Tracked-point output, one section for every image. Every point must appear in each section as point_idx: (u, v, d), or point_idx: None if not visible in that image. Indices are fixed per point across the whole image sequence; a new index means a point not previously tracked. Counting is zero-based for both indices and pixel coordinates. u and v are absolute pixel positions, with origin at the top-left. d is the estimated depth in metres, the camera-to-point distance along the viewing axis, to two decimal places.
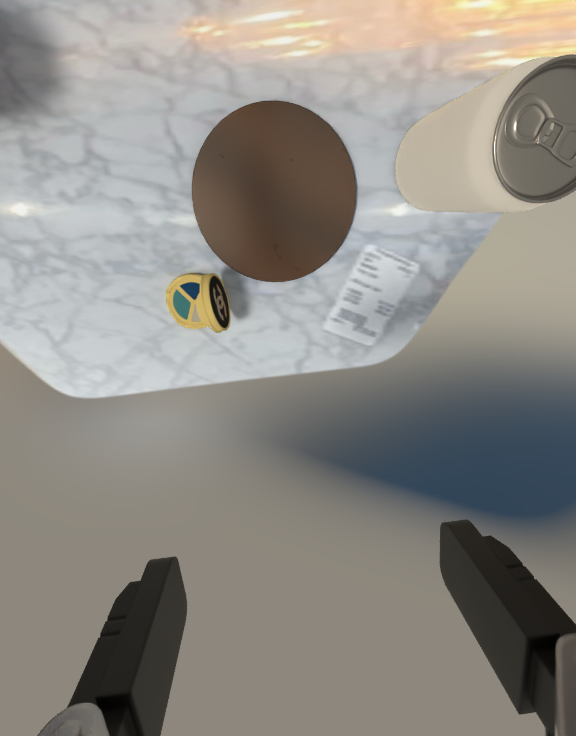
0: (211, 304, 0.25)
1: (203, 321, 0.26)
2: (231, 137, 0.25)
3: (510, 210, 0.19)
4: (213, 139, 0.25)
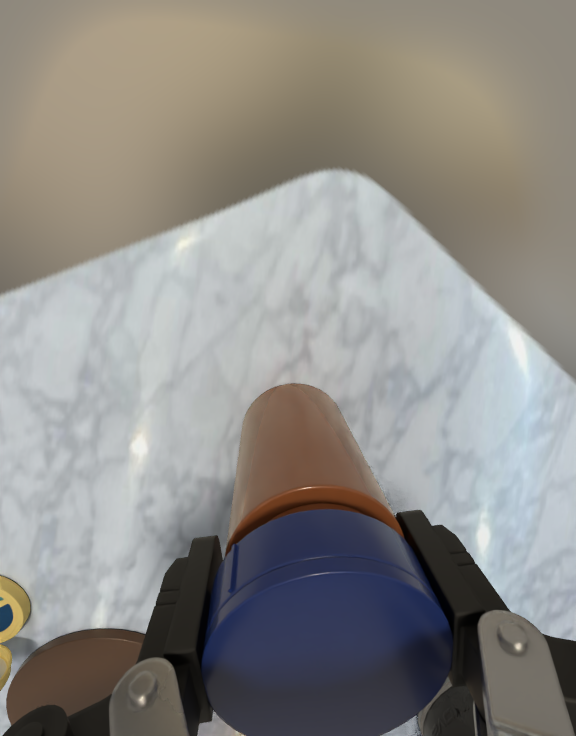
0: None
1: None
2: None
3: None
4: None
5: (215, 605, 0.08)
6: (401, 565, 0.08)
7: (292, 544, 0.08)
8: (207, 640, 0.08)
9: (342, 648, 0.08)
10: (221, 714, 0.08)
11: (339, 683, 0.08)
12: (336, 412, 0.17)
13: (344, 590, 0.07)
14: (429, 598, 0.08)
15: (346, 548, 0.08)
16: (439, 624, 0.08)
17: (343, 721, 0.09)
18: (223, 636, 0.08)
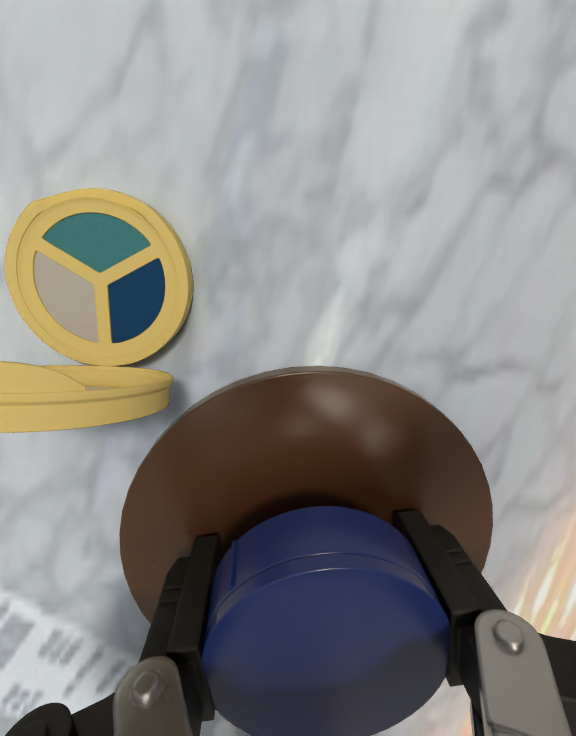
0: (21, 430, 0.06)
1: None
2: (453, 494, 0.11)
3: None
4: (465, 461, 0.11)
5: (215, 601, 0.08)
6: (401, 562, 0.08)
7: (292, 540, 0.08)
8: (207, 636, 0.08)
9: (342, 644, 0.08)
10: (221, 710, 0.08)
11: (339, 679, 0.08)
12: None
13: (344, 586, 0.07)
14: (429, 595, 0.08)
15: (346, 544, 0.08)
16: (439, 621, 0.08)
17: (343, 718, 0.09)
18: (223, 632, 0.08)
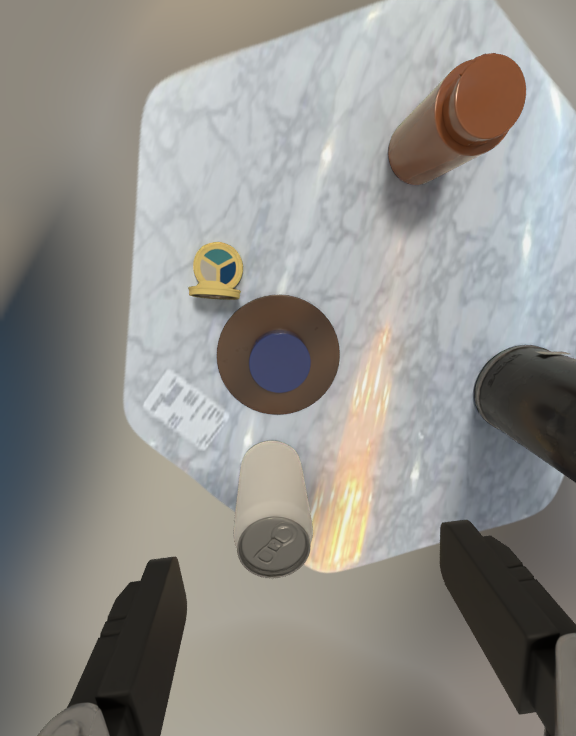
0: (216, 295, 0.29)
1: (203, 282, 0.29)
2: (325, 338, 0.35)
3: (236, 524, 0.29)
4: (327, 326, 0.35)
5: (252, 348, 0.34)
6: (296, 337, 0.34)
7: (270, 333, 0.34)
8: (250, 352, 0.33)
9: (282, 356, 0.34)
10: (253, 377, 0.34)
11: (282, 368, 0.34)
12: None
13: (282, 338, 0.33)
14: (302, 342, 0.33)
15: (283, 332, 0.34)
16: (305, 350, 0.33)
17: (284, 382, 0.34)
18: (254, 350, 0.33)
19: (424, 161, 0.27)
